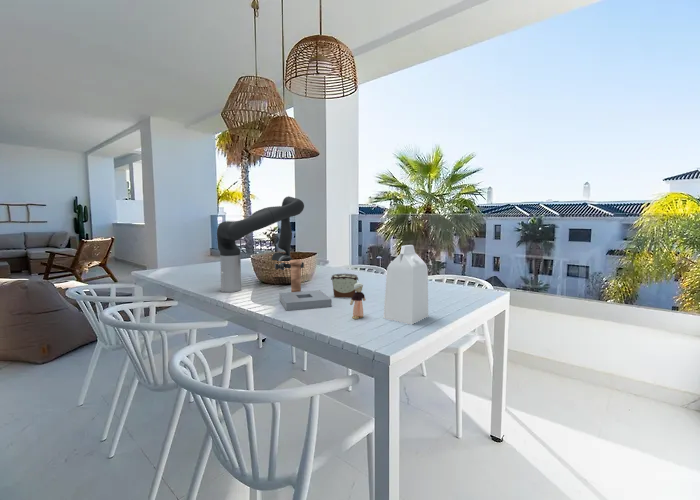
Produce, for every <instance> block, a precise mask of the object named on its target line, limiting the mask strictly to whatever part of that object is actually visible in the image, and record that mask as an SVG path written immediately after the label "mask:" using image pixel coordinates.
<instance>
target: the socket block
mask: <svg viewBox="0 0 700 500" xmlns="http://www.w3.org/2000/svg"><path fill="white" fill-rule="evenodd" d="M278 294H279V295H278V297H279V298H278V299H279V302H280V303H281V304H282V306H283V308H284V309H285V311H297V310H299V311H300V310H308V309H310V310H311V309H321V308H331V307H332V304H333V303H332V302H333V301H332V300H333V299H332V298H331V297H329V296H328V295H327V294H325V293H324V292H323V291H321V290H320V289H318V290H305V291H302V290H301V292H279V293H278Z"/></svg>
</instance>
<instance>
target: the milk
mask: <svg viewBox="0 0 700 500" xmlns="http://www.w3.org/2000/svg"><path fill="white" fill-rule="evenodd" d="M400 248H401V249H400V253H399V254H398V255H397V256H396V257H395V258H394V259H393V260H391V262H390V263H389V264H388V266H387V267H386V275H385V276H386V278H385V290H384V305H383V319H384V318H385V320H390V321H393V320H394V321H393V322H398V321H399V322H398V323H402V322H403V323H402V324H406V323H407V324H408V325H411V324H413V325H415V324H416V322H417V323H419V322H420V320H421V321H423V320H425V319H427V318H429V276H428V274H429V273H428V272H429V271H428V270H429V269H428V265H427V264H426V262H425V261H424V260H423V259H422V258H421V257H420V256H419V255H418V254H417V252H416V250H415V246H414V245H413V244H406V245H401V247H400ZM426 317H427V318H426ZM424 318H425V319H424ZM422 319H423V320H422ZM418 321H419V322H418ZM414 323H415V324H414ZM407 324H406V325H407Z"/></svg>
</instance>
